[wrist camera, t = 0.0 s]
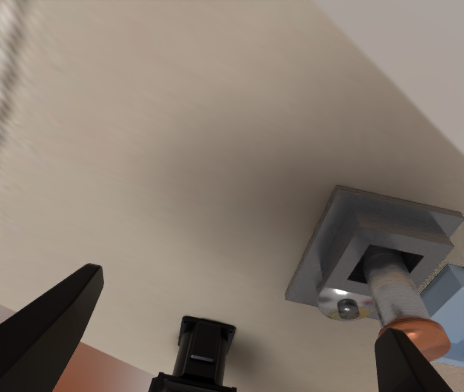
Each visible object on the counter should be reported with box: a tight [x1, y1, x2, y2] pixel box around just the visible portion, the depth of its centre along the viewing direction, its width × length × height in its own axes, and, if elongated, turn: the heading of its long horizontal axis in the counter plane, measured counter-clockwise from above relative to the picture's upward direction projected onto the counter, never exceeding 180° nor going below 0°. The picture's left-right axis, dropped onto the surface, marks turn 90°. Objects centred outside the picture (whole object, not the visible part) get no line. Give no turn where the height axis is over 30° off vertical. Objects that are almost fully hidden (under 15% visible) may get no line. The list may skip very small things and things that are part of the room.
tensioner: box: [285, 185, 464, 321], centre depth 26 cm, size 14×10×3 cm
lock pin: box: [360, 244, 451, 362], centre depth 22 cm, size 4×4×9 cm
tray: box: [420, 264, 464, 368], centre depth 29 cm, size 11×8×2 cm
